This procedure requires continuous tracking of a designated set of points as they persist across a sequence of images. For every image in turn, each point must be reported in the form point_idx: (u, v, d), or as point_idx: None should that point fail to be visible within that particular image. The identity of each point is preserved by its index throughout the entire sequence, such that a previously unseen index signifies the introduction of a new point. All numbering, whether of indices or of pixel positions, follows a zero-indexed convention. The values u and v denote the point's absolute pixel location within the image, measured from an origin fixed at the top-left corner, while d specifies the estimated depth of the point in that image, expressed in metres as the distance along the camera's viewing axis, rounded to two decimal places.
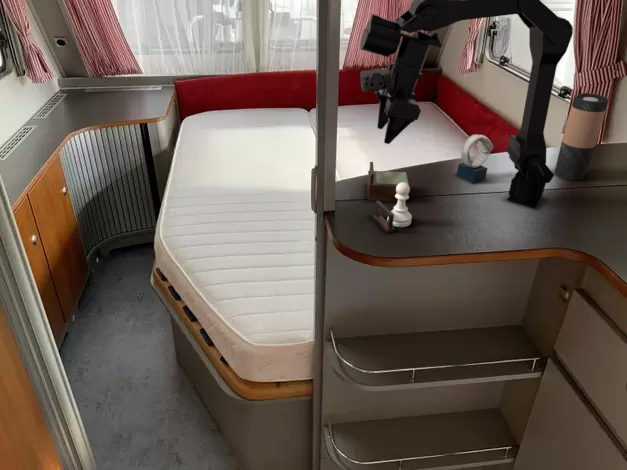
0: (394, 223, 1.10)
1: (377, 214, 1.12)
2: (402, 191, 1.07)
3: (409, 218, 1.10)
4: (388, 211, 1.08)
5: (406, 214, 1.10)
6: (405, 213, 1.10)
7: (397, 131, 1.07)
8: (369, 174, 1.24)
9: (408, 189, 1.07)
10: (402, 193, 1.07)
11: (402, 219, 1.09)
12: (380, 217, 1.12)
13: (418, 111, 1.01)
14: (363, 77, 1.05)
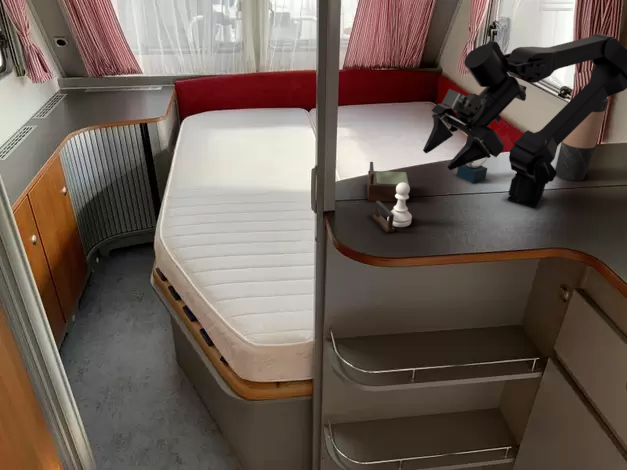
0: (394, 223, 1.10)
1: (377, 214, 1.12)
2: (402, 191, 1.07)
3: (409, 218, 1.10)
4: (388, 211, 1.08)
5: (406, 214, 1.10)
6: (405, 213, 1.10)
7: (466, 161, 1.03)
8: (369, 174, 1.24)
9: (408, 189, 1.07)
10: (402, 193, 1.07)
11: (402, 219, 1.09)
12: (380, 217, 1.12)
13: (502, 149, 1.01)
14: (460, 95, 1.00)
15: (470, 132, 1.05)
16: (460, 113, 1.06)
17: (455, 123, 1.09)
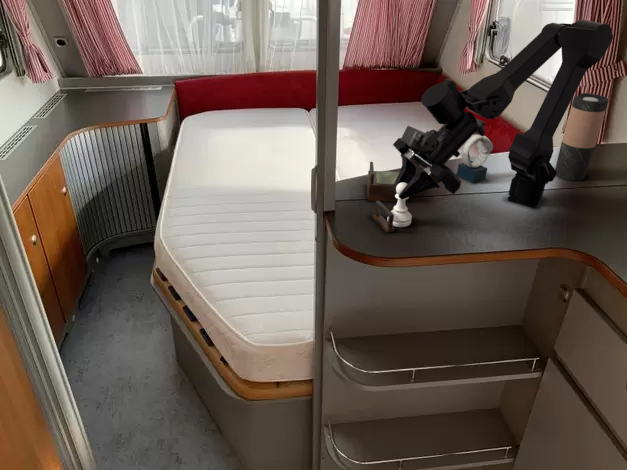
0: (394, 223, 1.10)
1: (377, 214, 1.12)
2: None
3: (409, 218, 1.10)
4: (388, 211, 1.08)
5: (406, 214, 1.10)
6: (405, 213, 1.10)
7: (416, 191, 1.07)
8: (369, 174, 1.24)
9: None
10: None
11: (402, 219, 1.09)
12: (380, 217, 1.12)
13: (459, 187, 1.01)
14: (417, 133, 1.01)
15: (421, 162, 1.08)
16: None
17: (423, 163, 1.07)
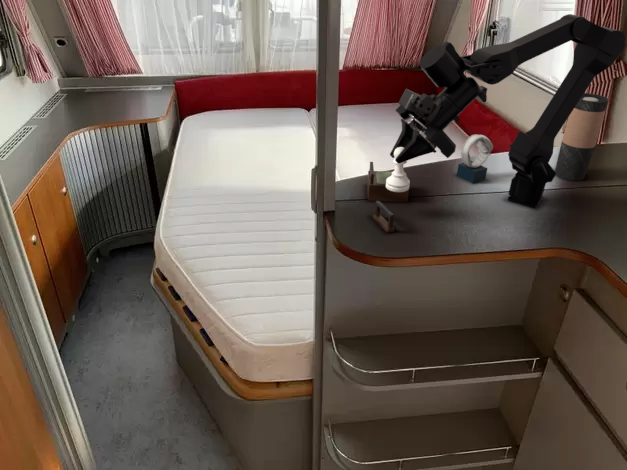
0: (391, 188, 1.11)
1: (377, 214, 1.12)
2: None
3: (406, 183, 1.10)
4: (388, 211, 1.08)
5: (403, 180, 1.10)
6: (402, 178, 1.10)
7: (413, 155, 1.07)
8: (369, 174, 1.24)
9: None
10: None
11: (399, 184, 1.10)
12: (380, 217, 1.12)
13: (454, 150, 1.01)
14: (413, 95, 1.01)
15: (420, 127, 1.08)
16: (418, 113, 1.06)
17: (422, 128, 1.07)
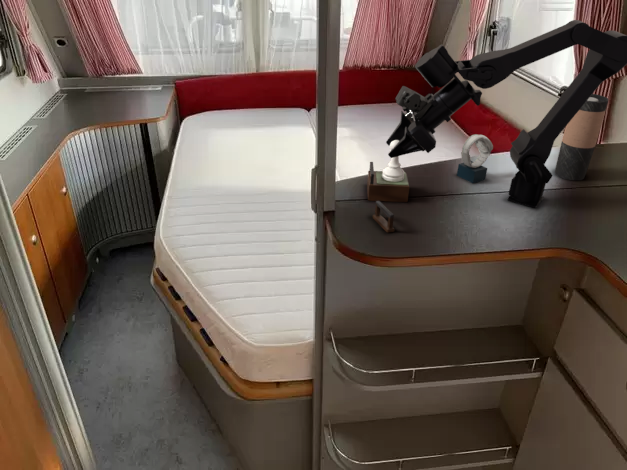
0: (384, 177, 1.20)
1: (377, 214, 1.12)
2: (392, 147, 1.17)
3: (399, 174, 1.19)
4: (388, 211, 1.08)
5: (396, 171, 1.19)
6: (395, 169, 1.19)
7: (404, 151, 1.13)
8: (369, 174, 1.24)
9: None
10: None
11: (391, 174, 1.19)
12: (380, 217, 1.12)
13: (433, 146, 1.08)
14: (404, 91, 1.10)
15: None
16: None
17: None
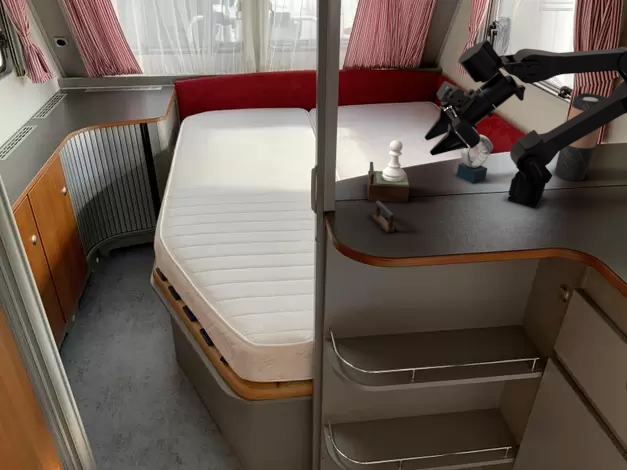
0: (384, 177, 1.20)
1: (377, 214, 1.12)
2: (392, 147, 1.17)
3: (399, 174, 1.19)
4: (388, 211, 1.08)
5: (396, 171, 1.19)
6: (395, 169, 1.19)
7: (447, 149, 1.12)
8: (369, 174, 1.24)
9: (399, 146, 1.17)
10: (393, 149, 1.17)
11: (391, 174, 1.19)
12: (380, 217, 1.12)
13: (477, 142, 1.07)
14: (447, 87, 1.09)
15: None
16: None
17: (455, 115, 1.17)
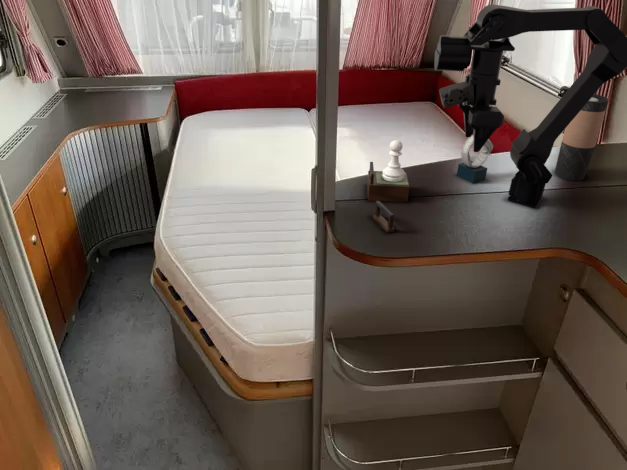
0: (384, 177, 1.20)
1: (377, 214, 1.12)
2: (392, 147, 1.17)
3: (399, 174, 1.19)
4: (388, 211, 1.08)
5: (396, 171, 1.19)
6: (395, 169, 1.19)
7: (485, 139, 1.10)
8: (369, 174, 1.24)
9: (399, 146, 1.17)
10: (393, 149, 1.17)
11: (391, 174, 1.19)
12: (380, 217, 1.12)
13: (501, 117, 1.04)
14: (442, 95, 1.10)
15: None
16: None
17: None
